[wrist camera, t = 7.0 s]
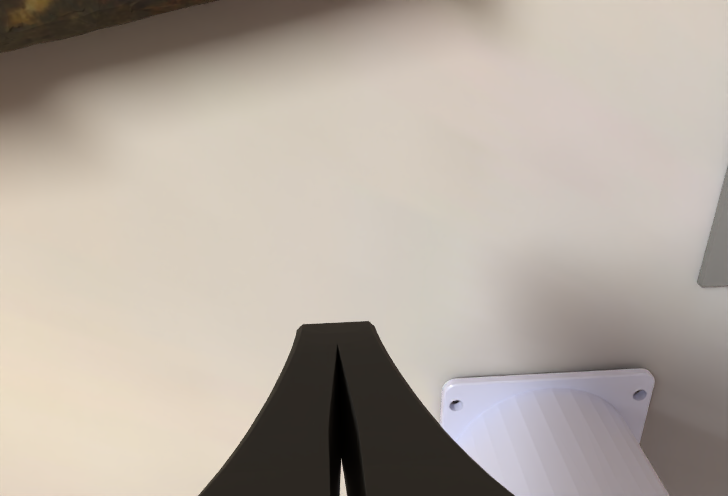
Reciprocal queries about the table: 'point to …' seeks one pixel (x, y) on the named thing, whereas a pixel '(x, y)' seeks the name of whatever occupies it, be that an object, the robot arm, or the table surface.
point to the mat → (717, 246)
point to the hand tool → (72, 17)
